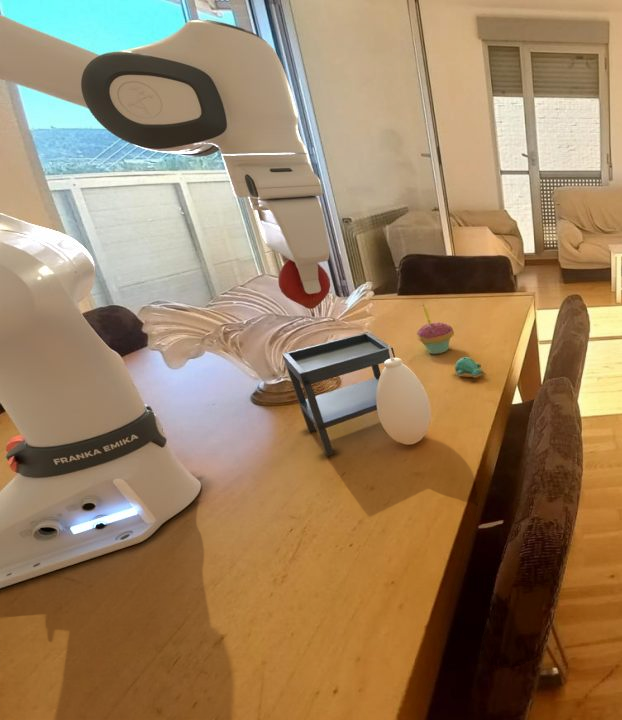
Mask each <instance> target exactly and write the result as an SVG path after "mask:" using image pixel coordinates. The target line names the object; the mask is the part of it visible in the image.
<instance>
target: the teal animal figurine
mask: <svg viewBox="0 0 622 720" xmlns="http://www.w3.org/2000/svg"><path fill="white" fill-rule="evenodd" d="M481 368H482V365H481V364H480V363H477V362H476V361H475V360H474V359H473V358H471V357H469V356H464V357H461V358H459V359H458V360H457V361H456V363H455V365H454V370H455V374H456V375H457V376H459V377H462V378H463V377H465V378H475V379H476V378H479V377H481V376H483V375H484V374H485V371H484V370H482V369H481Z"/></svg>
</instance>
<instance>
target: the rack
mask: <svg viewBox="0 0 622 720" xmlns="http://www.w3.org/2000/svg"><path fill="white" fill-rule="evenodd" d="M388 345H389V344H388V343H386V342H385V341H384V340H382V339H380V338H379V337H378V336H375V334H372V333H371V332H370V331H366V332H363V333H359V334H354V335H350V336H346V337H342V338H339V339H334V340H331V341H327V342H323V343H319V344H315V345H311V346H306V347H302V348H299V349H294V350H292V351H287V352H283V353H281V355H282V358H283V361H284V365H285V367H286V370H287V373H288V376H289V378H290V381H291V384H292V387H293V391H294V393H295V396H296V399H297V402H298V405H299V407H300V410H301V413H302V416H303V420H304V423H305V425H306V427H307V430H308V432H309V433H312V432H314V431H317V432H318V435H319V438H320V441H321V445H322V447H323V450H324V454H325V456H326V457H329V456H332V455H334V454H335V451H334V449H333V446H332V443H331V439H330V437H329V433H328V432H327V428H331V427H333V426H336V425H339V424H341V423H344V422H347V421H350V420H353V419H355V418H356V419H357V418H358V417H361V416H364V415H367V414H369V413H372V412H375V411H377V404H376V394H377V386H378V381H379V378H380V375H381V370H380V366H379V365H380V364H381V365H382V364H384V362H385V361H386V360H388V359H390V354H389V349H388ZM390 347H391V350H392V354H393V357H394V358H396V355H395V351H394V348H393V347H392V346H391V345H390ZM370 367H371V369H372V373H373V377H372V378H369V379H366V380H363V381H359V382H356V383H353V384H350V385H346V386H343V387H340V388H337V389H333V390H331V391H327V392H324V393H321V394H318V395H315V392H314V389H313V386H312V385H314V384H317V383H321V382H323V381H326V380H330V379H333V378H337V377H340V376H344V375H347V374H351V373H354V372H357V371H361V370H364V369H367V368H370ZM303 390H304V391H303ZM304 393H305V394H304ZM305 396H306V397H305ZM316 429H317V430H316Z"/></svg>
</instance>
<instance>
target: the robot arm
mask: <svg viewBox="0 0 622 720" xmlns="http://www.w3.org/2000/svg"><path fill="white" fill-rule="evenodd" d="M0 80H2V81H4V82H9V83H12V84H15V85H18V86H21V87H24V88H27V89H30V90H32V91H36V92H39V93H42V94H45V95H48V96H50V97H53V98H56V99H59V100H62V101H65V102H68V103H71V104H74V105H77V106H80V107H83V108H86V109H88V110H89V112H90V113H91V115H92V116H93V118H95V119H96V121H97V122H98V123H99V124H100V125H101V126H102V127H103V128H105V129H106V130H107V131H108V132H110V134H112V135H114V136H115V137H117V138H118V139H120V140H121V141H124V142H127V143H128V144H131V145H133V146H136V147H139V148H141V149H145V150H147V151H153V152H158V153H168V154H174V155H178V156H182V157H189V158H200V157H201V158H202V157H207V156H211V155H213V154H216V153H217V152H220V155H221V158H222V161H223V164H224V167H225V171H226V173H227V176H228V179H229V182H230V185H231V188H232V191H233V195H234V196H235V197H237V198H248V200H249V203H250V206H251V209H252V210H253V211H255V215H256V219H257V222H258V226H259V229H260V232H261V236H262V238H263V240H264V243H265V245H266V247H267V248H269V249H271V250H273V251H274V252H276V253H278V254H279V256H280V259H281V261H282V264H283V265H284V264H285V263H286V262H287V261H288V260H289V259H290V260H292V261H293V262H295V264H296V267H297V268H298V271H299V275H300V278H301V279H300V281H301V284H302V288H303V290H304V291H305V292H306V293H308V294H313V293H318V292H320V291H321V287H320V283H319V280H318V265H317V264H319V263H324V262H328V261H329V259H330V243H329V237H328V234H327V232H328V231H327V226H326V221H325V216H324V212H323V208H322V205H321V201H320V199H319V198H318V197H321V196H323V193H324V191H323V187H322V182H321V180H320V178H319V177H318V175H317V174H316V173H315V172H314V169H313V167H312V166H313V165H312V163H311V159H310V155H309V152H308V149H307V147H306V145H305V143H304V142H303V140H302V137H301V135H300V132H299V114H298V110H297V107H296V102H295V99H294V96H293V92H292V89H291V86H290V82H289V80H288V77H287V74H286V72H285V69H284V67H283V64H282V62H281V60H280V57H279V56H278V54H277V51H275V50H274V48H273V47H272V45H270V43H268V42H267V41H266V40H265V39H264V38H262V37H261V36H259V35H257V34H256V33H254V32H252V31H251V30H247V29H245V28H243V27H240V26H236V25H234V24H229V23H226V22H222V21H217V20H212V19H199V18H198V19H191V20H188V21H187V22H185V24H184V25H183V26H182V27H181V28H180V29H179V30H177V31H176V32H174V33H172V34H170V35H168V36H167V37H164V38H163V39H160V40H157V41H154V42H151V43H149V44H146V45H141V46H137V47H132V48H127V49H124V50H123V49H122V50H119V51H111V52H110V51H109V52H106V53H102V54H98V53H95V52H94V51H91V50H88V49H86V48H83V47H81V46H78V45H75V44H73V43H71V42H68V41H65V40H63V39H61V38H58V37H55V36H53V35H50V34H48V33H46V32H43V31H40V30H37V29H35V28H34V27H30V26H28V25H25V24H23V23H20V22H18V21H16V20H13V19H11V18H9V17H7V16H4V15H2V14H0ZM95 280H96V268H95V262H94V260H93V257H92V255H91V254H90V252H89V251H88V250H87V249H86V248H85V246H83V245H82V244H81V243H80V242H78V241H77V240H76V239H74V238H73V237H70V236H69V235H67V234H64V233H63V232H60V231H56V230H53V229H50V228H46V227H43V226H40V225H36V224H32V223H30V222H26V221H24V220H21V219H18V218H16V217H13V216H10V215H7V214H5V213H1V212H0V405H1V406H2V408H3V409H4V411H5V412H6V414H7V415H8V417H9V418H10V420H11V421H12V423H13V425H14V426H15V427H16V429H17V431H18V432H19V434H20V435H15V436H12V437H11V438H9V439H8V442H7V443H6V446H5V451H6V453H7V454H6V457H5V458H6V460H7V465H8V466H9V467H10V469H11V471H12V472H13V473H16V475H15V476H14V477H13V478H11V480H10V481H9V482H8V483H7V484H6V485H5V486H3V488H2V489H0V589H2V588H5V587H8V586H12V585H15V584H17V583H21V582H24V581H27V580H30V579H32V578H36V577H39V576H42V575H45V574H48V573H52V572H54V571H57V570H60V569H64V568H66V567H69V566H72V565H75V564H78V563H82V562H85V561H88V560H91V559H94V558H97V557H100V556H103V555H106V554H109V553H112V552H116V551H120V550H122V549H124V548H127V547H130V546H133V545H137V544H139V543H142V542H144V541H145V540H147V539H148V538H150V537H151V536H152V535H153V534H154V533H155V532H156V531H157V530H158V529H159V528H161V526H162V525H163V524H165V523H166V522H167V521H168V520H170V519H172V518H173V517H174V516H176V515H177V514H179V513H180V512H182V511H183V510H184V509H186V507H188V506H189V505H190V504H191V503H192V502H193V501H194V500H195V499H196V498H197V496H198V495H199V494H200V491H201V490H202V489H201V488H202V484H201V481H200V480H199V479H198V478H196V477H195V476H194V475H193V474H192V473H191V472H190V471H188V469H187V468H186V467H185V466H184V465H183V464H182V463H181V461H180V460H179V458H177V456H176V454H175V453H174V452H173V451H172V449H171V448H170V446H169V445H168V443H167V442H168V441H167V435H166V432H165V430H164V427H163V425H162V424H161V421H160V419H159V418H158V416H157V414H156V413H155V412H154V410H153V409H152V407H151V406H150V405H149V404H146V403H145V402H144V400H143V397H142V396H141V394H140V392H139V390H138V387H137V385H136V383H135V382H134V380H133V377H132V375H131V374H130V371H129V370H128V368H127V366H126V364H125V360H124V359H123V357H122V356H121V355H120V354H119V353H118V352H117V351H115V350H114V349H112V348H111V347H109V346H108V344H106V342H105V341H104V340H103V339H102V338H101V337H100V336H99V334H98V333H97V332H96V331H95V329H94V328H93V327H92V326H91V325H90V323H89V322H88V320H87V319H86V317H84V315H83V313H82V311H81V309H80V306H79V303H80V302H82V301H83V300H85V298H86V297H87V296H89V294H90V293H91V291H92V289H93V288H94V285H95Z"/></svg>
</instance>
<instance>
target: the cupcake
mask: <svg viewBox="0 0 622 720" xmlns="http://www.w3.org/2000/svg"><path fill="white" fill-rule="evenodd" d="M422 306H423V312H424V315H425V318H426V320H427V324H425V325H423V326H421V327H420V328H419V329H418V331H417V333H416V335H417V339H418V341H419V342H421V343H422V344H423V345H424V347H425V348H426V350H427V352H428V354H429V353H430V354H433V355H436V354H437V355H438V354H442V353H445V352H447V351H449V346H450V342H451V341H450V340H451V338H452V337H453V336H454V334H455V331H454V328H453V327H452V326H451V325H449V324H447V323H444V322H433V323H432V320H431V318H430V315H429V312H428V309H427V307H426V306H425V304H422Z"/></svg>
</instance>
